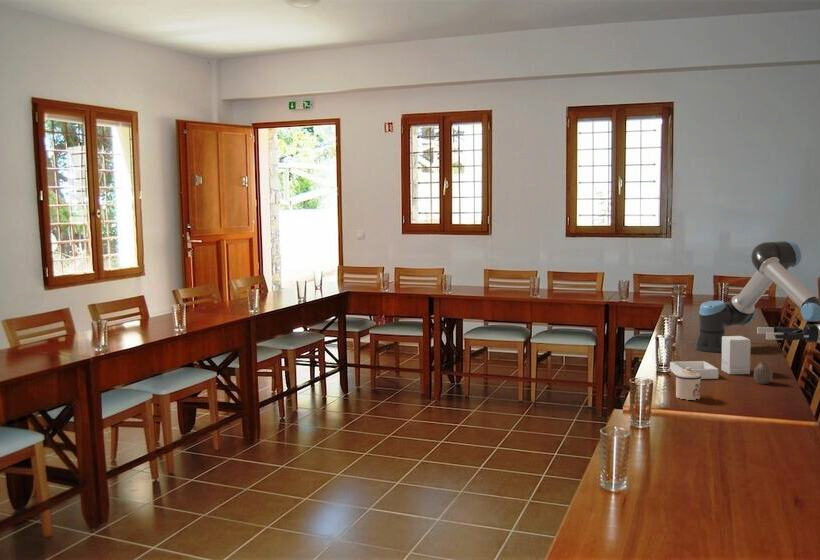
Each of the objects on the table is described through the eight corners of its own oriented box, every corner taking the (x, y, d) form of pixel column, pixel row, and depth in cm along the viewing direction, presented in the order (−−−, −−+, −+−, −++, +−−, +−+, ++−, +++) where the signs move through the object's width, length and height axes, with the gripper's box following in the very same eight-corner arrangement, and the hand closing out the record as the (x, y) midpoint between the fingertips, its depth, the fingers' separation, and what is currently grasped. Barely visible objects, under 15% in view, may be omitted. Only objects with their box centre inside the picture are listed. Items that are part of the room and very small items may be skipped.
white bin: (669, 370, 322) (669, 361, 322) (704, 370, 322) (704, 361, 322) (681, 379, 307) (681, 369, 307) (718, 378, 307) (718, 369, 307)
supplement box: (750, 374, 313) (751, 339, 311) (729, 374, 313) (730, 339, 311) (741, 369, 322) (742, 335, 320) (720, 369, 322) (721, 335, 320)
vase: (768, 380, 302) (769, 359, 301) (775, 385, 295) (775, 363, 294) (750, 380, 302) (751, 359, 301) (757, 385, 295) (757, 363, 294)
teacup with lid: (697, 402, 274) (698, 371, 273) (672, 399, 279) (672, 368, 278) (705, 394, 284) (705, 364, 282) (680, 391, 289) (680, 362, 287)
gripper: (826, 348, 297) (769, 347, 301) (806, 337, 322) (753, 336, 326) (827, 329, 297) (770, 329, 301) (806, 319, 321) (754, 320, 325)
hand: (761, 333), depth 313 cm, fingers open, 13 cm apart
